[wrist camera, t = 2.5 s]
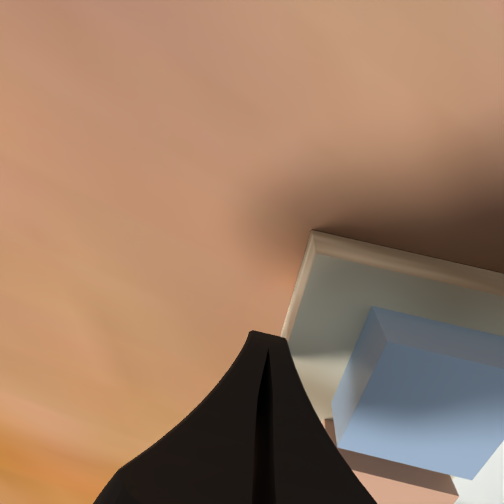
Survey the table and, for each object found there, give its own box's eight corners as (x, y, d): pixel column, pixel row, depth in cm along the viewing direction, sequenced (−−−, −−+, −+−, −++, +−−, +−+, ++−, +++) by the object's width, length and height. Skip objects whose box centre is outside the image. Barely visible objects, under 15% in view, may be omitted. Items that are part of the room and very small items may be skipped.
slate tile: (447, 430, 13) (471, 480, 12) (331, 402, 13) (337, 447, 12) (508, 337, 11) (551, 380, 10) (371, 305, 11) (387, 341, 10)
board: (396, 483, 19) (411, 534, 16) (247, 446, 19) (241, 491, 17) (526, 278, 13) (576, 312, 11) (311, 229, 13) (316, 253, 11)
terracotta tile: (393, 511, 16) (407, 562, 14) (295, 486, 16) (296, 534, 14) (436, 446, 14) (459, 496, 12) (324, 418, 14) (329, 464, 12)
